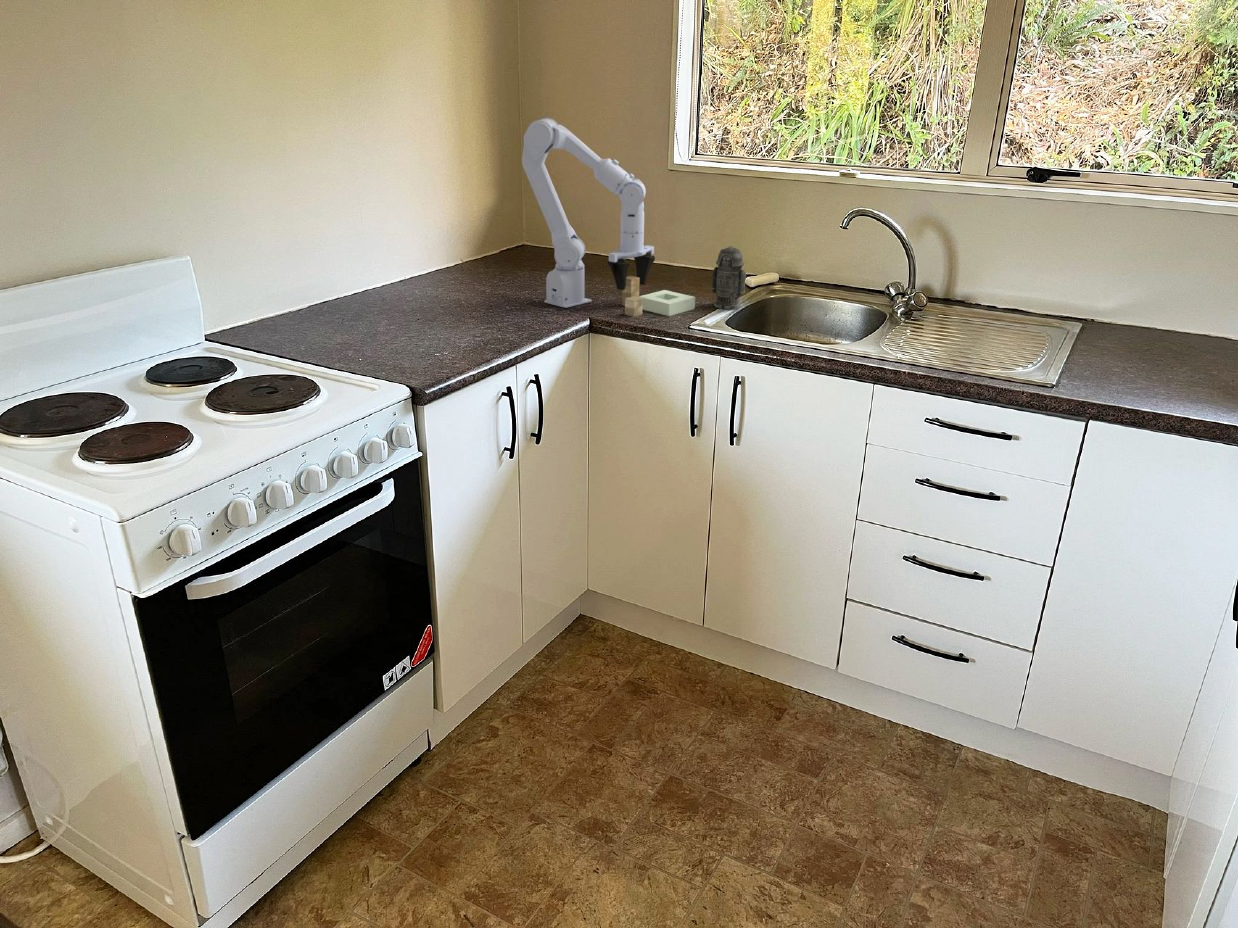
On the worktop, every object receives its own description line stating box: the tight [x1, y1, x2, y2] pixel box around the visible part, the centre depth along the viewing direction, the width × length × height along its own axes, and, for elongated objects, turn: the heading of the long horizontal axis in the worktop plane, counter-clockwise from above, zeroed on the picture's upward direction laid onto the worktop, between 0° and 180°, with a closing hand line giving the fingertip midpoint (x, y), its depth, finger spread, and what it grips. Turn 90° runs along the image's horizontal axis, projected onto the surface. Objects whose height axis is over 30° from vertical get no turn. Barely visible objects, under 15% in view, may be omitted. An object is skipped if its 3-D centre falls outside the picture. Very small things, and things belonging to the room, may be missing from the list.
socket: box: [638, 289, 696, 317], centre depth 230 cm, size 10×10×3 cm
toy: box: [711, 245, 747, 310], centre depth 230 cm, size 8×6×15 cm
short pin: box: [624, 296, 643, 318], centre depth 224 cm, size 3×3×4 cm
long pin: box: [621, 275, 640, 307], centre depth 231 cm, size 3×3×7 cm
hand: (631, 286), depth 231 cm, fingers open, 7 cm apart
